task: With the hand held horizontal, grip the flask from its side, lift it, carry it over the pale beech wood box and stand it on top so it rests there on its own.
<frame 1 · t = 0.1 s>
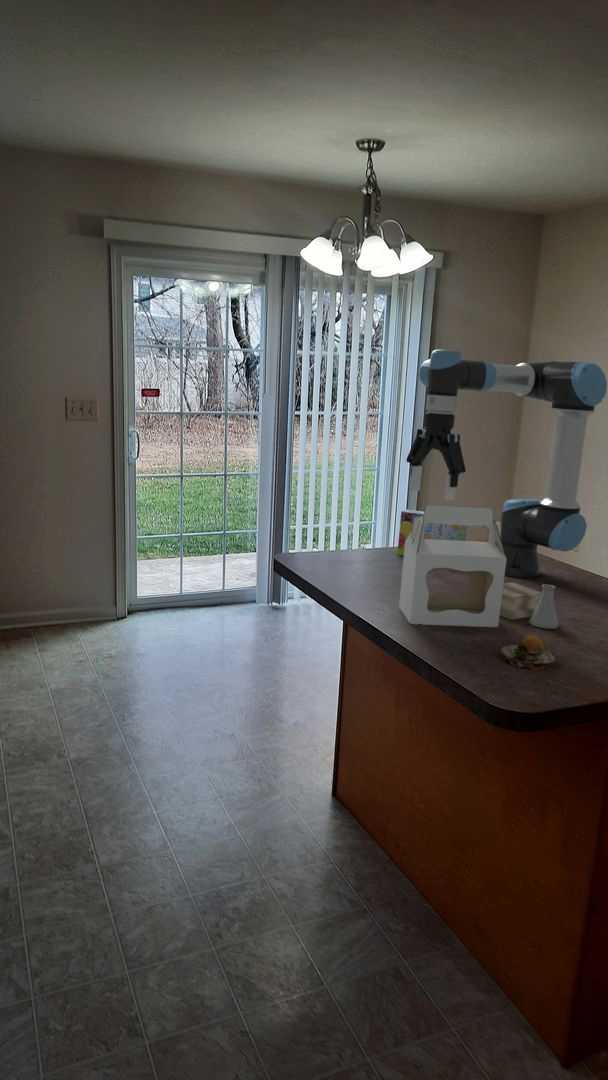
hand: (431, 495, 201), 28 cm above the countertop, tool pointing down, fingers open, 13 cm apart
snack box: (429, 559, 254), on the countertop
flask: (543, 625, 191), on the countertop
gable box: (447, 618, 192), on the countertop
beech box: (510, 611, 200), on the countertop
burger: (526, 662, 166), on the countertop
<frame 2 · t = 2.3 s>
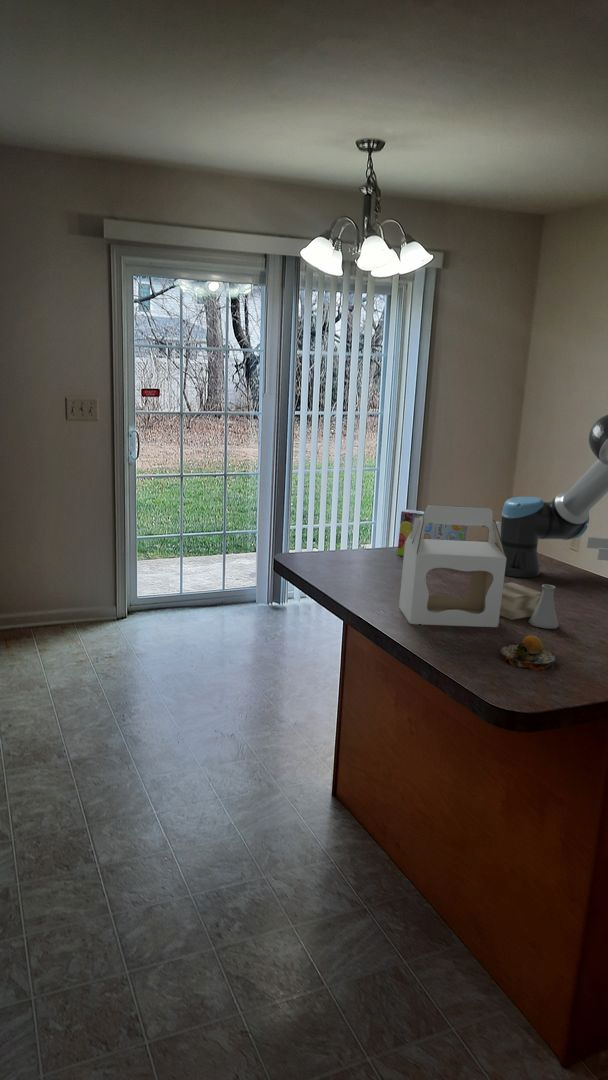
hand: (592, 547, 186), 20 cm above the countertop, tool horizontal, fingers open, 13 cm apart
nothing on the countertop moved.
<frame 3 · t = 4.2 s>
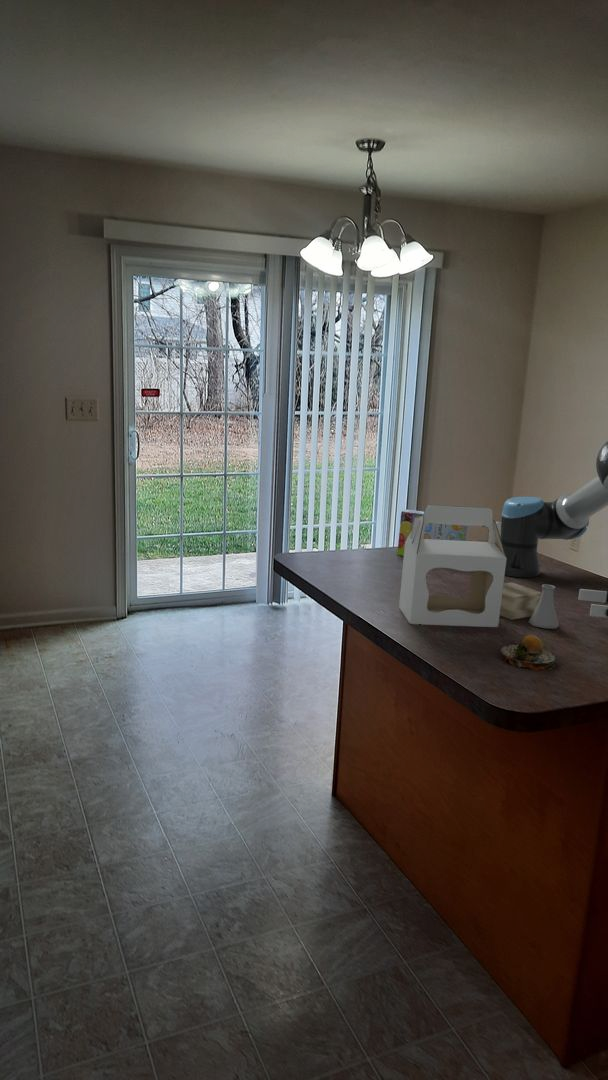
hand: (584, 601, 189), 7 cm above the countertop, tool horizontal, fingers open, 13 cm apart
nothing on the countertop moved.
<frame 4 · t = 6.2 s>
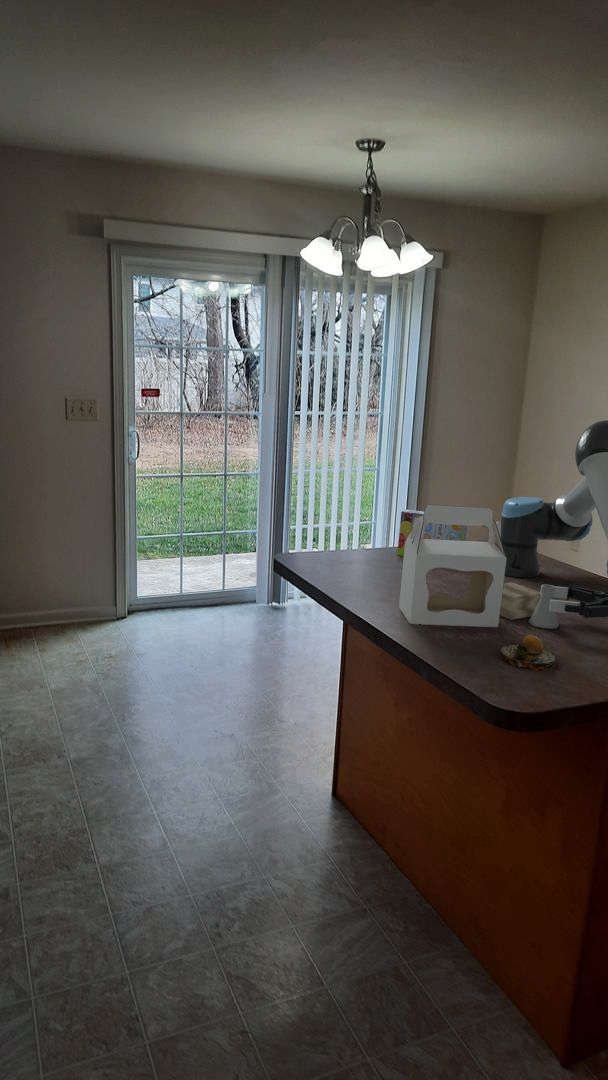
hand: (544, 597, 190), 7 cm above the countertop, tool horizontal, fingers open, 13 cm apart
nothing on the countertop moved.
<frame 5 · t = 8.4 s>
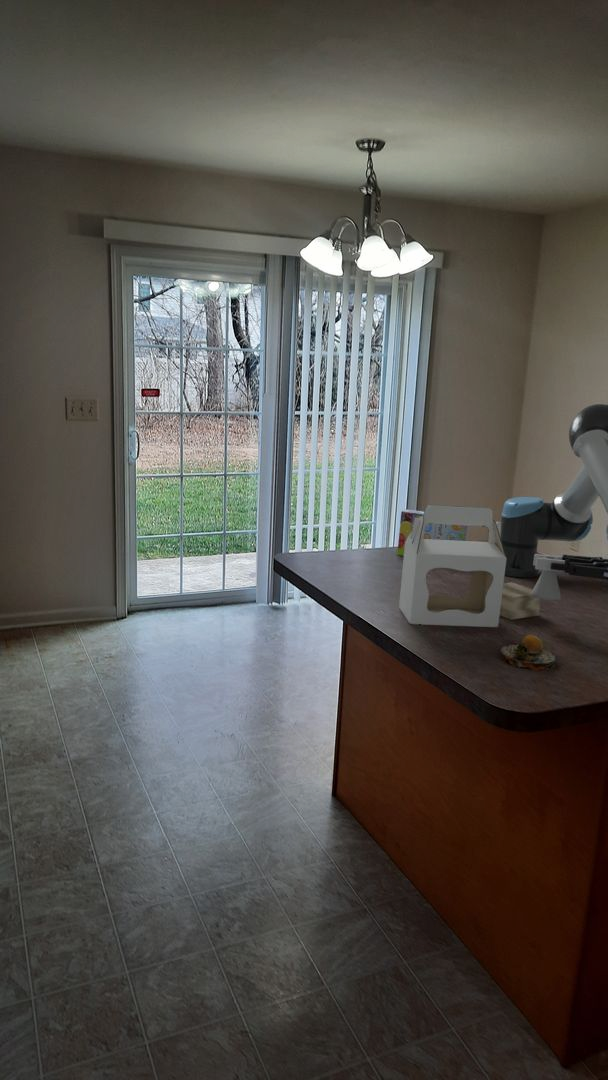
hand: (535, 561, 188), 16 cm above the countertop, tool horizontal, fingers closed on flask, 3 cm apart
flask: (545, 597, 190), point 7 cm above the countertop, touching gripper
everything else where it was.
when the fingers open (15 cm above the countertop, at t = 10.2 s): flask stays where it is, resting on beech box.
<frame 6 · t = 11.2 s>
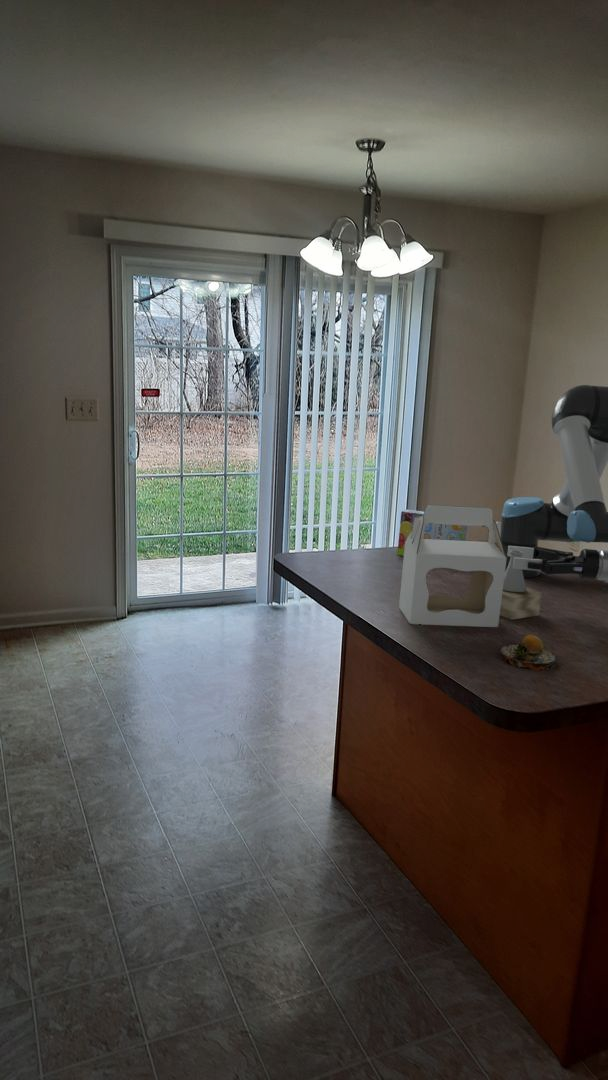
hand: (510, 556, 198), 15 cm above the countertop, tool horizontal, fingers open, 13 cm apart
flask: (511, 590, 199), point 6 cm above the countertop, touching beech box
everything else where it was.
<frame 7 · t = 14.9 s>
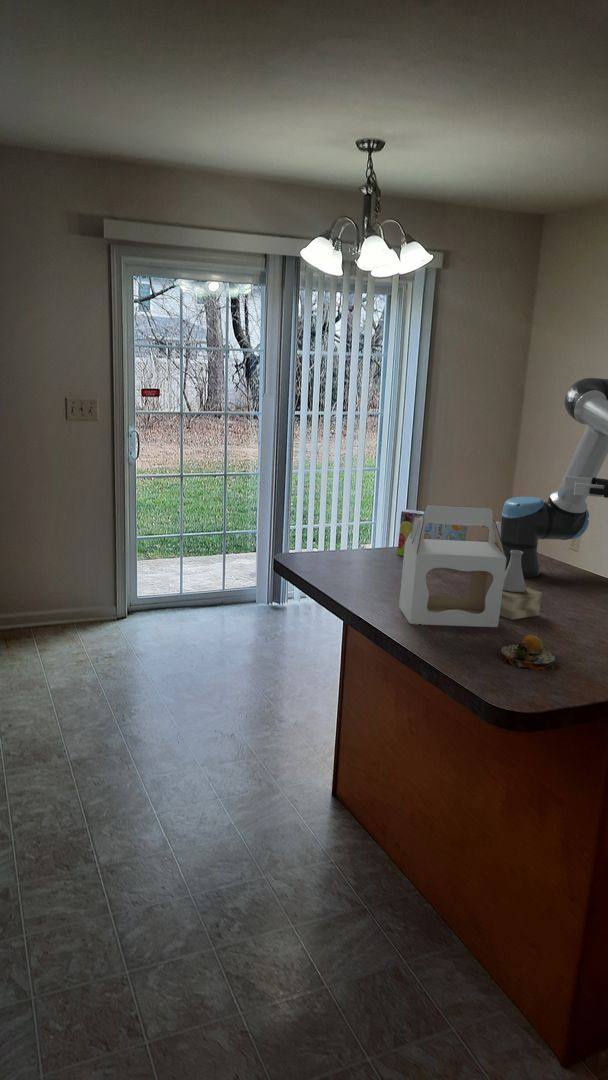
hand: (569, 485, 192), 34 cm above the countertop, tool horizontal, fingers open, 13 cm apart
nothing on the countertop moved.
at the end: flask inside the target area on the beech box (0.3 cm from its centre), point 5.8 cm above the beech box's base; flask tilted 0°; flask touching beech box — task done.
